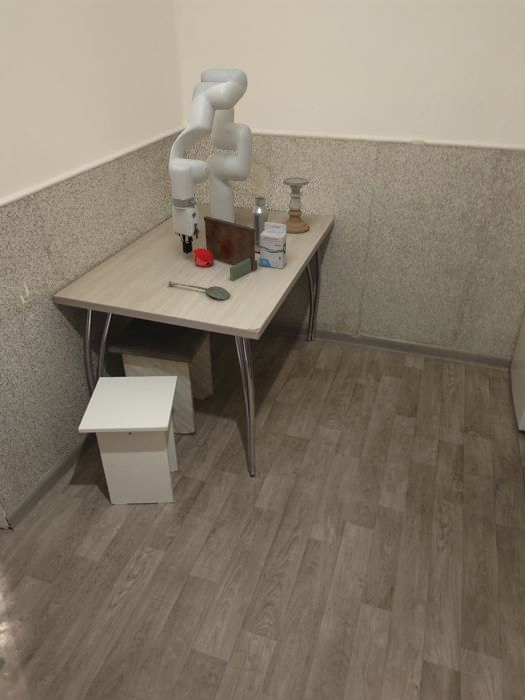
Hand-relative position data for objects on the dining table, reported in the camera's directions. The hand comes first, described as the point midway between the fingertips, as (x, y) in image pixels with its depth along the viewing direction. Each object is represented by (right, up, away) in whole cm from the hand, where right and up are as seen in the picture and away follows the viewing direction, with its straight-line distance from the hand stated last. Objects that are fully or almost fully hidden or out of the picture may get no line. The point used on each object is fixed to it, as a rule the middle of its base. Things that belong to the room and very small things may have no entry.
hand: (187, 252), depth 186 cm
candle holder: (+41, +16, +31) cm, 54 cm away
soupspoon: (+7, -17, -21) cm, 28 cm away
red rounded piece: (+6, -5, -2) cm, 8 cm away
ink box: (+31, -5, -2) cm, 32 cm away
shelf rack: (+13, -6, -4) cm, 15 cm away
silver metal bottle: (+26, +2, +9) cm, 28 cm away
